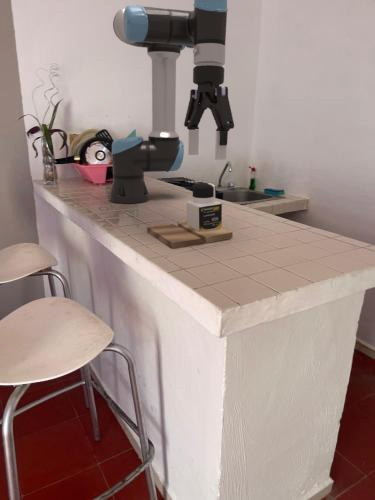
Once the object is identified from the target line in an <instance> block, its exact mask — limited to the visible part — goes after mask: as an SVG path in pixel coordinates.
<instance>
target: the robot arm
mask: <svg viewBox="0 0 375 500" xmlns="http://www.w3.org/2000/svg"><path fill="white" fill-rule="evenodd" d="M228 10H229V9H228V0H193V10H192V11H191V10H181V9H173V8H172V9H170V8H160V7H152V6H151V7H150V6H143V5H140V4H139V5H127V6H126V7H124V8H122V9H120V10H118V11H117V12H116V13H115V15H114V17H113V21H112V28H113V31H114V34H115V36H116V37H117V38H118V40H120V41H121V42H122V43H124V44H127V45H130V46H133V47H137V48H138V47H139V48H146V50H147V51H146V54H147V56H149V58H150V59H151V117H152V118H151V122H152V124H151V125H152V126H151V127H152V128H151V132H150V133H149V134H148V138H147V139H148V140H147V139H146V140H144V137H143V136H130V137H123V138H117V139H115V140H113V141H112V144H111V153H110V154H111V157H112V184H111V188H110V190H109V195H108V196H109V201H110V202H111V203H112V202H113V203H117V204H140V203H144V202H149V200H150V196H149V195H150V194H149V190H148V188H147V184H146V182H145V173H151V172H152V173H153V172H154V173H156V172H157V173H158V172H165V173H169V172H176V171H179V169H180V168H181V166H182V164H183V160H184V155H185V147H184V146H185V145H184V142H183V141H182V140H181V139H180V135H179V134H178V132H176V94H177V93H176V92H177V91H176V88H177V86H176V85H177V84H176V83H177V82H176V81H177V60H178V58H180V57H181V51H184V50H185V48H187V49H192V53H193V64H194V67H193V69H192V83H193V84H194V85H197V89H196V88H195V89H192V88H191V89H190V93H189V100H188V101H189V102H188V106H187V108H186V109H187V110H186V113H185V118H184V122H183V126H184V127H185V128H186V129H187V130H188V150H187V152H188V156H189V155H190V156H195V155H197V156H198V155H199V146H200V145H199V144H200V143H199V140H200V139H199V138H200V137H199V133H200V128H199V124H200V122H201V119H202V118H203V115H204V113H205V111H206V110H207V109H209V110H210V112H211V115H212V117H213V120H214V122H215V124H216V127H217V128H216V129H215V148H214V151H215V153H214V160H216V161H217V160H218V161H220V160H227V145H228V136H229V135H228V134H229V131H230V130H232V129H234V128H235V123H234V118H233V114H232V113H233V112H232V110H231V104H230V100H229V89H228V88H229V87H228V86H225V85H223V84H224V83H225V68H224V67H223V66H224V65H225V64H226V39H227V37H226V36H227V21H228V20H227V19H228V18H227V17H228ZM220 85H221V86H220ZM222 85H223V86H222Z"/></svg>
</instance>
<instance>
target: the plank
mask: <svg viewBox="0 0 375 500" xmlns="http://www.w3.org/2000/svg"><path fill="white" fill-rule="evenodd" d="M177 226H178V227H180V228H182V229H184V230H186V231H188V232H190V233H192V234H193V235H195V236H197V237H199V238H201V240H202V241H204V242H205V244H209V243H212V242H213V243H214V242H218V241H224V240H227V239H232V238H233V231H230V230H229V229H227V228H223V227H221V228H218V229H213V230H208V231H203V232H199V231H197V230H195V229H193V228H191V227H189V226H187V220H186V221H180V222H177Z"/></svg>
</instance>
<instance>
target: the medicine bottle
mask: <svg viewBox="0 0 375 500" xmlns="http://www.w3.org/2000/svg"><path fill="white" fill-rule="evenodd" d="M191 192H192V199H191V200H187V201H186V221H187V226H189V227H191V228H193V229H195V230H197V231H199V232H203V231H208V230H213V229H218V228H221V227H222V225H223V224H222V222H223V221H222V220H223V217H222V215H223V210H222V209H223V206H222V205H223V204H222V202H221V201H218V200H215V199H216V185H215V184H213V183H211V182H198V183H195V184H193V185H192V191H191ZM222 228H223V227H222Z"/></svg>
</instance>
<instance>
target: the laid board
mask: <svg viewBox="0 0 375 500" xmlns="http://www.w3.org/2000/svg"><path fill="white" fill-rule="evenodd" d="M146 232H147V233H148V234H149V235H151V236H152V237H154V238H155V239H157V240H158V241H160V242H162V243H163V244H164V245H166V246H168V247H170V248H171V249H172V250H173V249H180V248H186V247H193V246H198V245H199V246H200V245H204V244H206V243H205V242H204V241H202V240H201V238H199V237H197V236H195V235H193V234H192V233H190V232H188V231H186V230H184V229H182V228H180V227H178V224H175V223H167V224H158V225H151V226H146Z"/></svg>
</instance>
